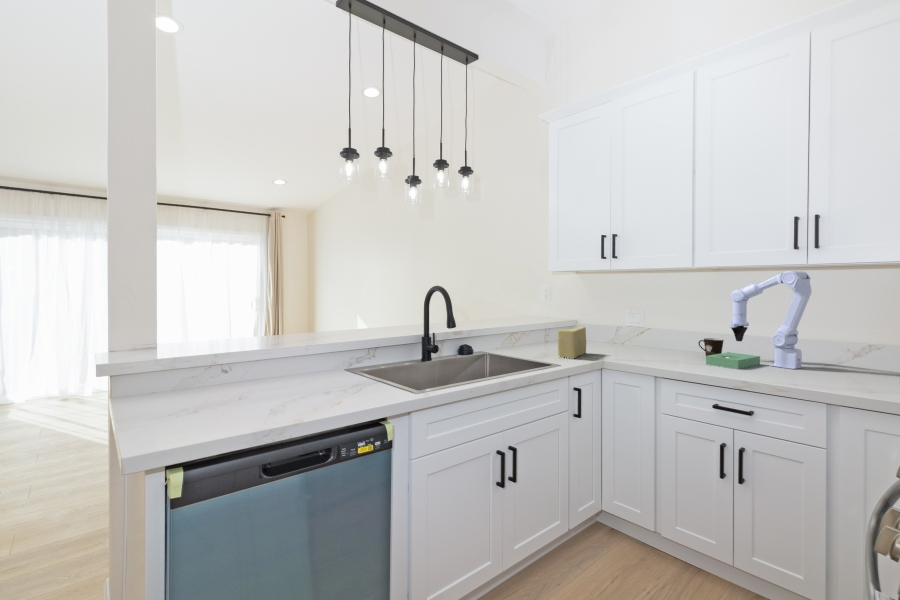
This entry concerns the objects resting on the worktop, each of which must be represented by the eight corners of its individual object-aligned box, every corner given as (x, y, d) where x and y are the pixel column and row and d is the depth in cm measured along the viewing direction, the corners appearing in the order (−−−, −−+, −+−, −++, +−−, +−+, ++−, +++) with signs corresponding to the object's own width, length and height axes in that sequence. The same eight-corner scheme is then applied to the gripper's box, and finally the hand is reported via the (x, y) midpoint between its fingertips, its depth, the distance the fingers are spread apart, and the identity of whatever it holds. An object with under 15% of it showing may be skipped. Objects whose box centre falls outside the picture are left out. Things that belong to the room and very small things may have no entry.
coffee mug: (727, 359, 213) (727, 340, 212) (709, 359, 213) (710, 340, 212) (713, 356, 224) (713, 337, 224) (696, 356, 224) (697, 337, 224)
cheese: (576, 352, 239) (576, 326, 239) (593, 354, 233) (593, 327, 232) (557, 357, 223) (557, 329, 223) (574, 359, 217) (574, 330, 216)
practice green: (728, 360, 212) (728, 352, 211) (759, 364, 199) (760, 356, 199) (705, 364, 201) (706, 355, 201) (737, 369, 189) (738, 360, 189)
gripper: (738, 313, 219) (737, 339, 220) (723, 314, 212) (722, 341, 212) (753, 313, 213) (753, 340, 214) (738, 315, 206) (738, 342, 206)
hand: (739, 341), depth 213 cm, fingers closed
